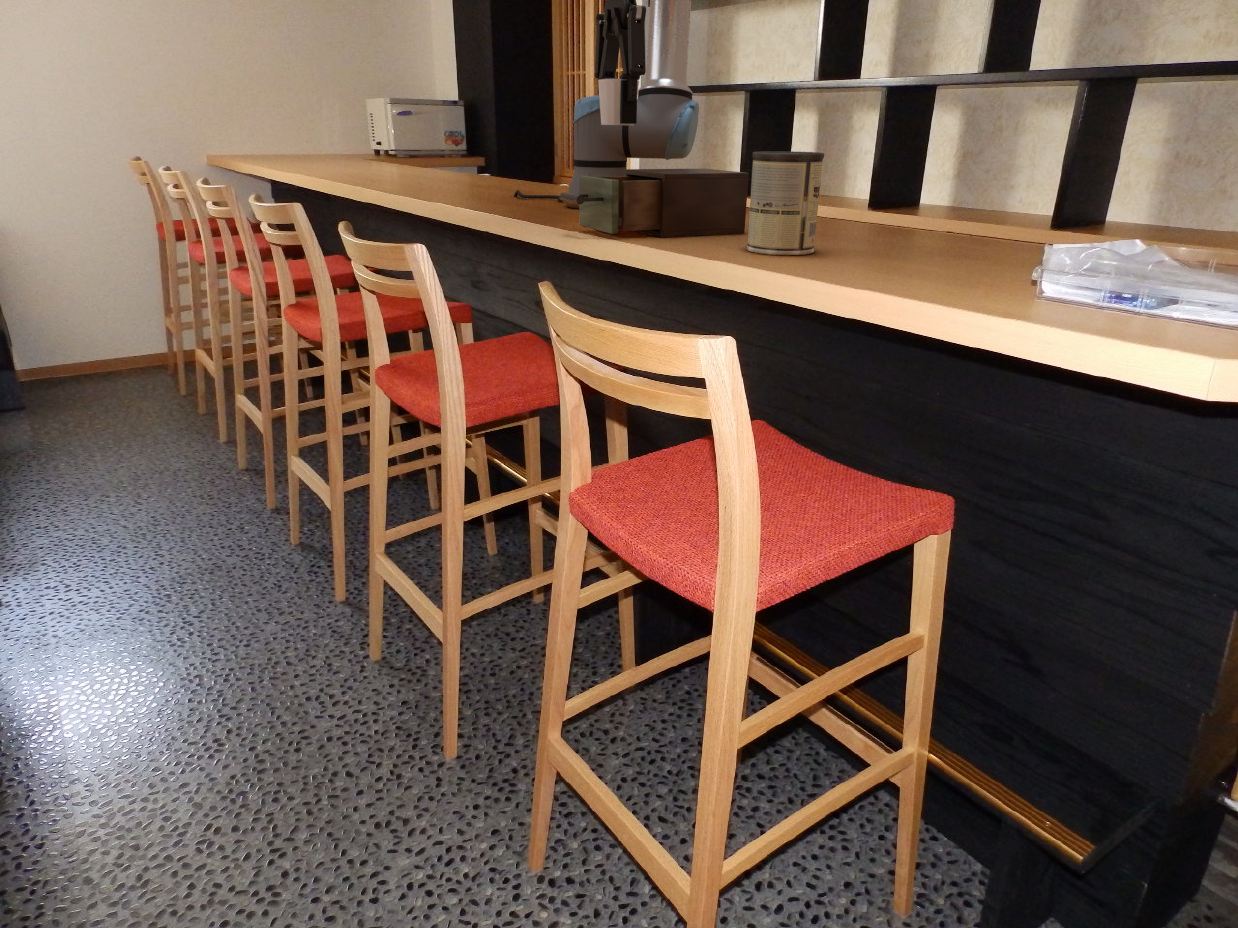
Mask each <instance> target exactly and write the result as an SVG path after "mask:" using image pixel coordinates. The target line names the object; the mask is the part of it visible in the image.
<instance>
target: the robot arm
mask: <svg viewBox="0 0 1238 928" xmlns="http://www.w3.org/2000/svg"><path fill="white" fill-rule="evenodd" d="M637 4H638V3H637V0H605V3H604V9H603V12H602V13H596V15H595V22H596V23H595V25H596V35H595V36H596V37H595V57H594V58H595V59H594V61H595V62H594V78H595V79H598V80H600V79H617V77H616V73H617V67H618V62H619V56H620V58H621V59H620V60H621V69H622V73H621V74H620V76H619V79H626V80H621V93H620V124H634V126H624V125H601V113H600V98H599V94H596V95H591V96H585V97H581V98H579V99H578V100H577V101H576V102H575V104H574V110H573V112H574V113H573V120H572V124H573V160H574V161H573V173H572V176H571V180H570V183H569V186H568V190H567V193H571V194H579V176H580V175H586V176H593V177H614V176H625V169H628V167H627V165H628V164H627V163H628V161H627V160H628V159H655V160H656V159H661V160H666V161H670V160H681V159H685V158H686V157H688V156H689V155H690V154H691V152H692V149H693V147H694V144H695V139H696V136H697V131H698V125H699V114H700V105H699V102H698V101H697V100H695V99H693V91H692V90H691V88H690V87H689V86H688V84H687V76H688V75H687V73H688V57H689V42H690V29H691V28H690V26H691V15H692V14H691V11H692V0H649V15H648V30H647V31H648V33H647V35H648V36H647V52H646V24H645V23H646V15H647V7H646V6H645V5H639V4H638V5H637ZM646 53H647V55H646ZM641 76H645V82H644V83H643V85H641V86H640V87H639V88H638V95H637V85H638V81H639V80H640V79H641ZM518 196H519V197H520V198H521V199H527V200H529V199H531V200H534V199H537V200H540V199H541V200H544V199H545V200H549V199H550V200H557V201H558V202H563V201H562V200H561V199H560V195H557V194H555V195H554V194H524V193H522V192H521V191H520V190H519V189H516V190H515V192H514V194H513V197H514V198H517V197H518ZM565 206H566V208H569V209H570V208H571V209H578V210H579V204H576V203H571V202H566V201H565Z"/></svg>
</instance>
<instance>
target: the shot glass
mask: <svg viewBox="0 0 1238 928" xmlns="http://www.w3.org/2000/svg"><path fill="white" fill-rule="evenodd" d="M621 80H626V79H620V78H616V79H600V80H599V79H598V80H597V82H598V84H597V85H598V95H599V98H600V113H601V125H624V126H634V124H620V93H621ZM639 85H640V81H639V80H638V85H637V96H638V90H639Z"/></svg>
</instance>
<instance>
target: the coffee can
mask: <svg viewBox="0 0 1238 928" xmlns="http://www.w3.org/2000/svg"><path fill="white" fill-rule="evenodd" d="M751 155H752V167H751V168H752V169H751V182H750V183H751V184H750V201H749V215H748V227H747V229H748V231H747V243H746V250H747V251H748V252H751V253H756V254H760V255H761V254H762V255H771V256H772V255H773V256H806V255H811V254H813V253H814V252H815V243H816V232H817V224H818V223H817V222H818V213H819V212H818V211H819V202H820V191H821V181H822V180H821V179H822V172H823V161H824V158H825V152H819V151H818V152H817V151H816V152H815V151H791V150H790V151H787V150H785V151H783V150H779V151H777V150H776V151H775V150H773V151H772V150H770V151H768V150H767V151H766V150H763V151H762V150H761V151H759V150H758V151H752V154H751Z"/></svg>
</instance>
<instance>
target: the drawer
mask: <svg viewBox="0 0 1238 928" xmlns="http://www.w3.org/2000/svg"><path fill="white" fill-rule="evenodd" d="M661 194H662V179H660V178H652V177H645V176H614V177H593V176H586V175H580V176H579V194H571V193H568V192H565V191H563V192H560V194H559V196H560V199H561V200H562V201H561V202H565V203H566V202H571V203H576V204H579V209H578V214H579V215H578V221H579V222H578V225H579V226H581V227H584V228H588V229H591V230H596V231H600V232H603V233H607V234H612V235H615V234H616V235H617V234H619V231H623V232H627V231H628V232H630V231H634V230H655V229H660V224H661Z"/></svg>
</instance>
